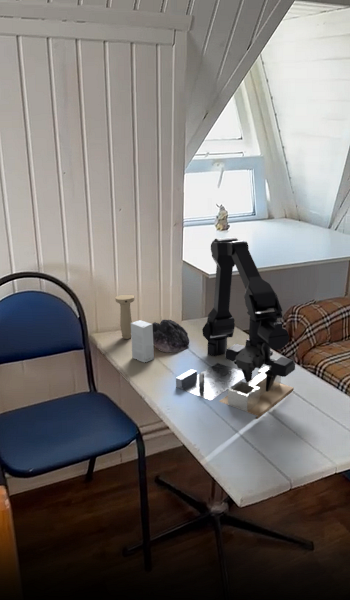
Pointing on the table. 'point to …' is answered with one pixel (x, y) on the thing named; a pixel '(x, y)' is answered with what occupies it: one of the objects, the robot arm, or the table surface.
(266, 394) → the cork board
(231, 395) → the white open-top bracket
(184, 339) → the crystal cluster
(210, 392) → the plate
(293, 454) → the table surface
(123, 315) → the handle
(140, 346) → the skincare box
